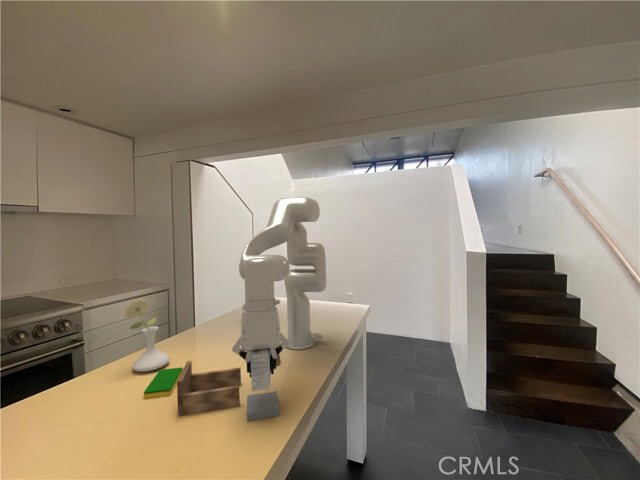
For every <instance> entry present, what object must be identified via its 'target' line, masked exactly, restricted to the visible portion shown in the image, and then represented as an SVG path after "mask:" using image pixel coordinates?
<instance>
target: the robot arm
mask: <svg viewBox="0 0 640 480" xmlns="http://www.w3.org/2000/svg"><path fill="white" fill-rule="evenodd" d="M320 208H321V207H320V205H319V202H318V201H317V200H316V199H313V198H310V197H307V196H306V197H304V196H302V197H285V198H284V197H283V198H280V199H278V200H276V201H275V203H273V207H272V209H271V213H270V216H269V219H268V221H267V226H266V227H265V228H264V229H262V230H261V231H259V232H258V233H257V234H256V235H254V237H252V238H250V240H248V242H247V243H246V245H245V246H244V249H243V251H242V254H241V257H240V260H239V264H238V272H239V276H240V277H241V278H242V279H243V280H244V304H245V309H244V310H243V309H242V313H241V320H240V336H239V338H238V339H237V341H236V342H235V343H234V345H233V346H232V349H231V350H232V352H233V353H234V354H236V355H238V356H240V358H242V359H243V360H244V362H246V373H247V374H249V378H251V355H252V351H253V350H260V349H268V348H270V350H271V356H270V370H271V375H274V372H275V370H276V369H277V365H276V358H277V356H278V355H279V356H280V353H282V352H283V350H284V349H286V348H287V349H289V350H295V351H296V350H297V351H298V350H306V349H309V348H311V347H313V346H314V345H315V339H323V335H322V333H318V332H312V330H311V304H310V303H311V302H310V300H309V297H308V295H307V294H306V293H321V292H324V291H325V290H326V288H327V261H326V260H327V259H326V258H327V256H326V250H325V247H324V245H323V244H322V243H319V242H308V233H307V229H306V227H305V226H304V225H303V224H302V223H315V222H317V221H318V220H319V218H320V215H321V213H320V212H321V211H320ZM284 243H286V255H287V256H286V257H285V256H284V255H281V254H278V255H277V254H263V253H264V252H266V251H267V250H270V249H273V248H275V247H278V246H281V245H282V244H284ZM290 265H291V266H294V267H313V268H293V269H290ZM282 280H283V282H284V287H285V288H284V289H285V292H286V293H285V294H286V306H287V307H286V308H287V315H286V316H287V338H286V336H284V334H283V333H282V332H281V325H280V316H279V310H278V307H276V306H277V305H280V304H281V300H280V299H281V298H276V297H275V282H280V281H282ZM240 347H241V348H240ZM275 348H276V349H275Z"/></svg>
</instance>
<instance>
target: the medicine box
mask: <svg viewBox="0 0 640 480" xmlns="http://www.w3.org/2000/svg"><path fill="white" fill-rule="evenodd" d="M271 375H272V374H271V370H270V348H268V349H260V350H253V353H252V356H251V377H250V379H251V381H250V382H251V383H250V384H251V392H257V391H266V390H269V389H270V386H271V385H270V384H271Z"/></svg>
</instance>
